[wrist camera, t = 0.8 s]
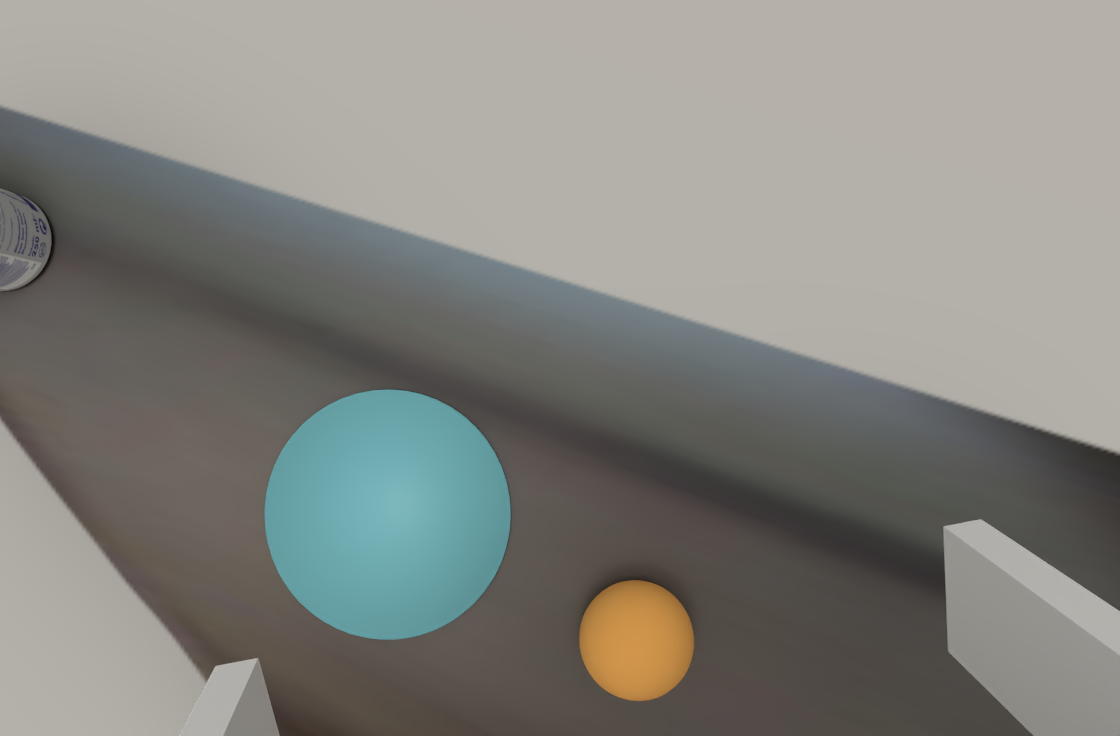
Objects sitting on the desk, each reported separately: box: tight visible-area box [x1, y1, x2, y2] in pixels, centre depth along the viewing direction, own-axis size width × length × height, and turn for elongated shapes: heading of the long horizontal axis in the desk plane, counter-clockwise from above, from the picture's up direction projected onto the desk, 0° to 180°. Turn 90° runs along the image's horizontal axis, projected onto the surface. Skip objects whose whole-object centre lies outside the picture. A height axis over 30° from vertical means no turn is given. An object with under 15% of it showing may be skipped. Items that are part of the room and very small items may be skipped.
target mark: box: [265, 390, 511, 640], centre depth 42 cm, size 13×13×1 cm
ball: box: [579, 580, 694, 701], centre depth 38 cm, size 6×6×6 cm
